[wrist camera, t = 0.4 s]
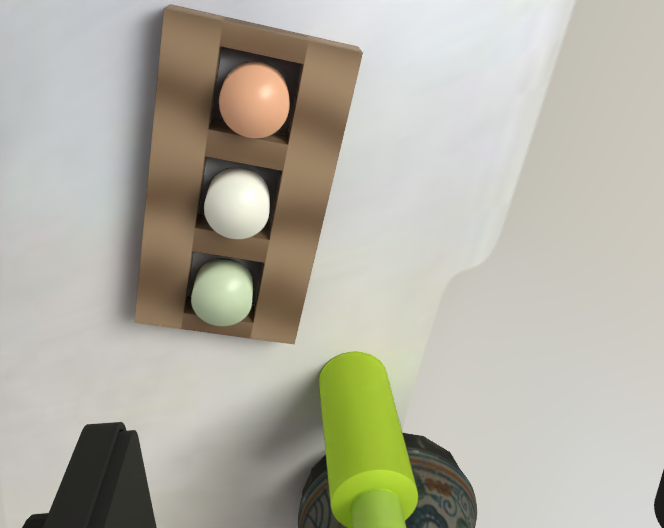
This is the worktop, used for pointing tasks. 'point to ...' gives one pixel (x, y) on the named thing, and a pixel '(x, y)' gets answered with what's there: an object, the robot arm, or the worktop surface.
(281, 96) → the button terracotta
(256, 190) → the white dome
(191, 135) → the button panel
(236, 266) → the button sage
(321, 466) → the beer stein
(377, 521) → the soap dispenser
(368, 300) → the worktop surface
